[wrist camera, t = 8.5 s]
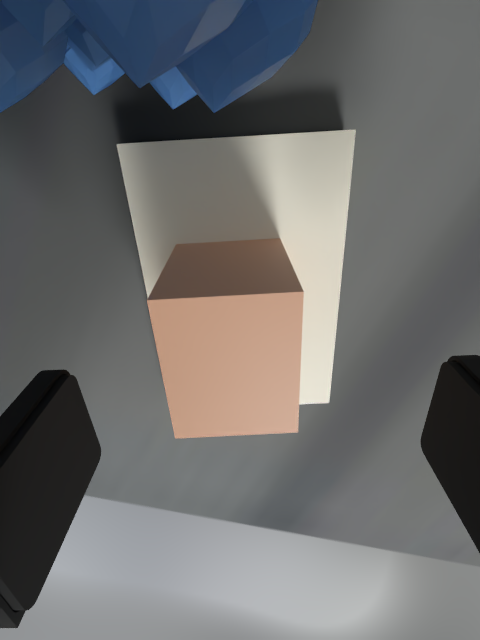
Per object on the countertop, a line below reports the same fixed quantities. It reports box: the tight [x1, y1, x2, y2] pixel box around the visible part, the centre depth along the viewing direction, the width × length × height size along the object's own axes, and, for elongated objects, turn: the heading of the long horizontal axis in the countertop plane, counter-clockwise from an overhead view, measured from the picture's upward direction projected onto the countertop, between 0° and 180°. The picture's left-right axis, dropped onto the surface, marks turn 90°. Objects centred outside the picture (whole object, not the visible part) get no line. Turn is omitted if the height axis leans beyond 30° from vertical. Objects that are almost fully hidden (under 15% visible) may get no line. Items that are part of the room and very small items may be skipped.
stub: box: [117, 130, 356, 439], centre depth 13 cm, size 8×12×6 cm, turn 3°
